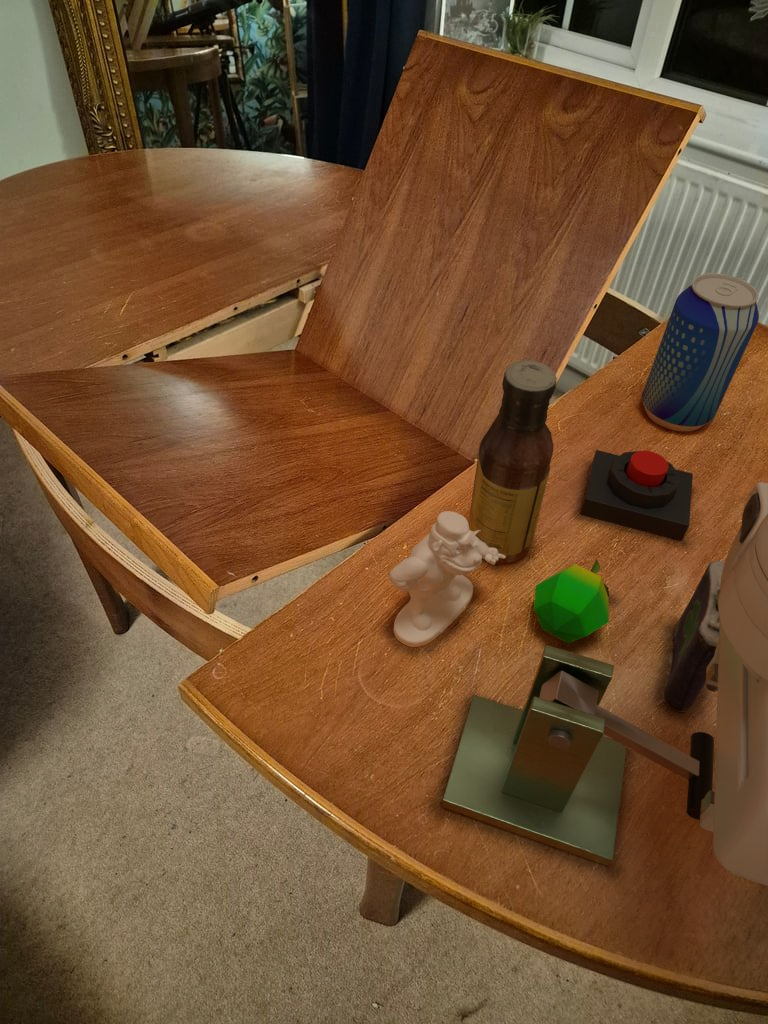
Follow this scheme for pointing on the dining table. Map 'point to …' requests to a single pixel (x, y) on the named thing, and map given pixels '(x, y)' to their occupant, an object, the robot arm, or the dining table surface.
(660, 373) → the beer can
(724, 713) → the robot arm
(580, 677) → the bracket
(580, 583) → the apple
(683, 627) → the eggplant half
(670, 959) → the dining table surface
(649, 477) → the button
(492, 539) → the sauce bottle
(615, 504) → the control block
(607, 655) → the dining table surface
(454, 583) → the figurine
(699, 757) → the lever
